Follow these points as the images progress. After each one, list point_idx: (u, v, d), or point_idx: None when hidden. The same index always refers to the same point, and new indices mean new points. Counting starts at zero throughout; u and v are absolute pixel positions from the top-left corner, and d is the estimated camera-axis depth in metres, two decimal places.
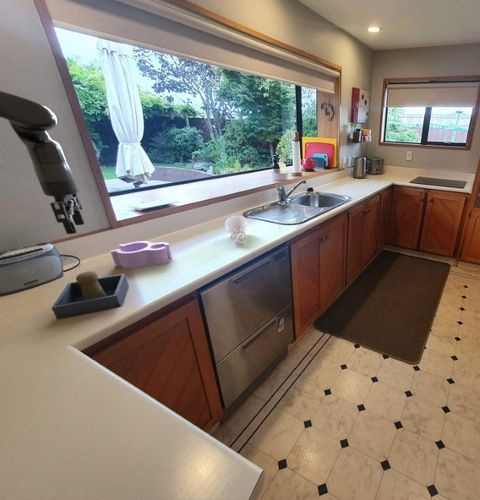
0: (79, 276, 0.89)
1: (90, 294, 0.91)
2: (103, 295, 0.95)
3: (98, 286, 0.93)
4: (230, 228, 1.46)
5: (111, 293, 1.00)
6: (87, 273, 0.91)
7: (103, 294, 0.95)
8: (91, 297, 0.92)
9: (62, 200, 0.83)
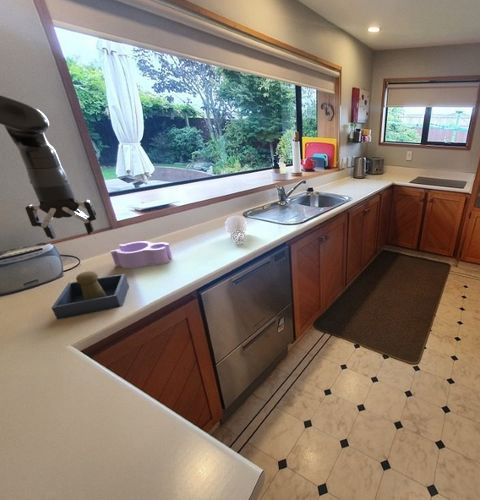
0: (79, 276, 0.89)
1: (90, 294, 0.91)
2: (103, 295, 0.95)
3: (98, 286, 0.93)
4: (230, 228, 1.46)
5: (111, 293, 1.00)
6: (87, 273, 0.91)
7: (103, 294, 0.95)
8: (91, 297, 0.92)
9: (39, 205, 0.80)
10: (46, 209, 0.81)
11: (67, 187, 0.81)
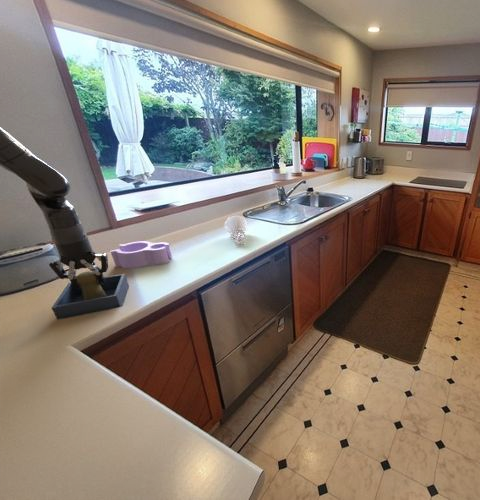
0: (79, 276, 0.89)
1: (90, 294, 0.91)
2: (103, 295, 0.95)
3: (98, 286, 0.93)
4: (230, 228, 1.46)
5: (111, 293, 1.00)
6: (87, 273, 0.91)
7: (103, 294, 0.95)
8: (91, 297, 0.92)
9: (60, 259, 0.86)
10: (66, 262, 0.86)
11: (85, 242, 0.86)
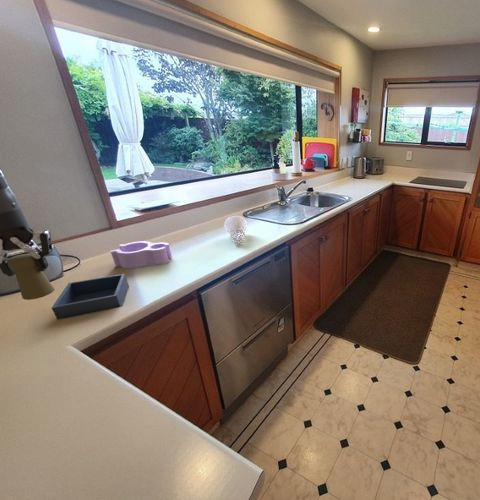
0: (11, 259, 0.68)
1: (27, 283, 0.71)
2: (47, 285, 0.74)
3: (39, 273, 0.72)
4: (230, 228, 1.45)
5: (111, 293, 1.00)
6: (23, 256, 0.70)
7: (47, 284, 0.74)
8: (29, 287, 0.71)
9: None
10: None
11: (16, 213, 0.65)
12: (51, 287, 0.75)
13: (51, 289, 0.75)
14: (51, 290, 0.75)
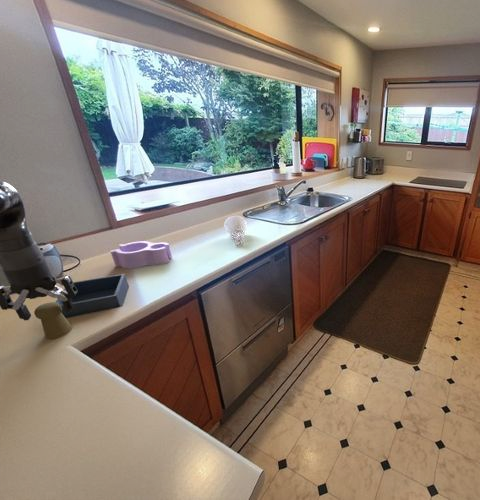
0: (38, 309, 0.75)
1: (51, 330, 0.77)
2: (69, 330, 0.80)
3: (62, 319, 0.79)
4: (230, 228, 1.45)
5: (111, 293, 1.00)
6: (48, 305, 0.76)
7: (69, 328, 0.80)
8: (53, 333, 0.77)
9: (10, 287, 0.70)
10: (18, 291, 0.71)
11: (41, 266, 0.71)
12: None
13: None
14: None
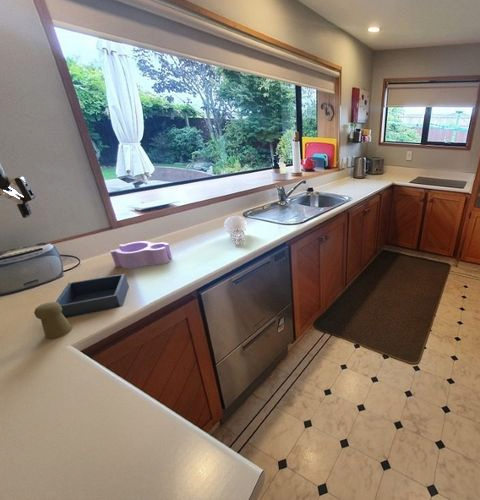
0: (38, 309, 0.75)
1: (51, 330, 0.77)
2: (69, 330, 0.80)
3: (62, 319, 0.79)
4: (229, 228, 1.45)
5: (111, 293, 1.00)
6: (48, 305, 0.76)
7: (69, 328, 0.80)
8: (53, 333, 0.77)
9: None
10: None
11: None
12: None
13: None
14: None
